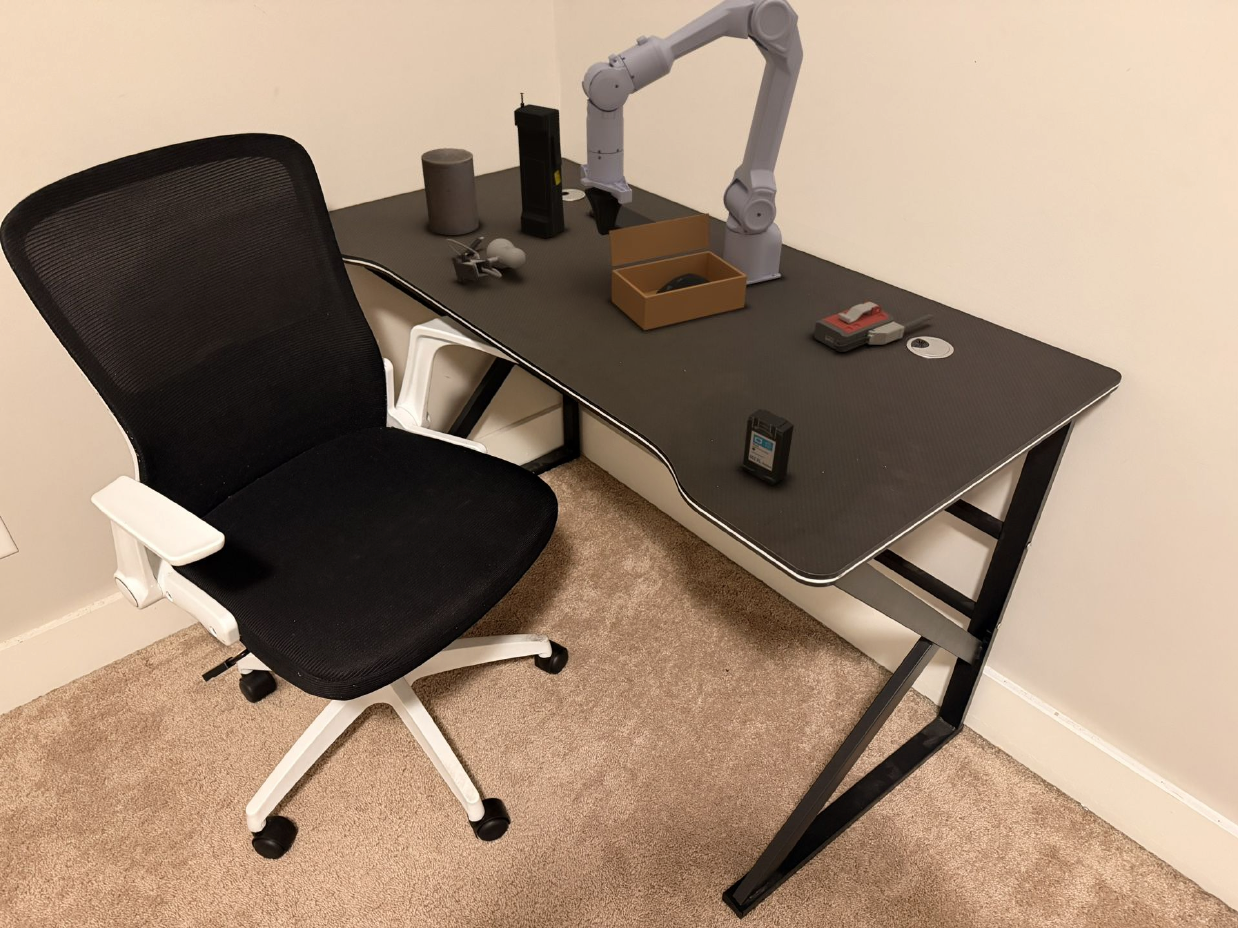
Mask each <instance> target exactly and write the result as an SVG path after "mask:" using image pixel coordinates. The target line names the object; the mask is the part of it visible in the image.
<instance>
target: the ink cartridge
mask: <svg viewBox="0 0 1238 928" xmlns="http://www.w3.org/2000/svg"><path fill="white" fill-rule="evenodd" d="M794 426H795V424H793V423H791V422H789V420H788V419H786V418H784V417H782V416H781V417H780V416H779V415H776V414H774V413H772V412H771V411H769V410H766V409H761V408H759V409H757V410H756V411H754V412H753V413H751V414H750V415H748V419H747V421H746V429H745V438H744V439H745V440H744V449H743V457H742V458H743V459H742V463H741V467H742V469H743V470H744V471H746V472H747V473H750V474H751V475H753V476H755V477H757V478H758V479H760V480H762V481H764V482H766V483H768V484H770V485H771V486H772V485H773V486H774V485H776V484H778V483H779V482H780V481H781V480H782V479H784V478H785V477H787V471H788V465H789V458H790V452H791V445H792V439H793V433H794Z"/></svg>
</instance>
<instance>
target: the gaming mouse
mask: <svg viewBox="0 0 1238 928" xmlns="http://www.w3.org/2000/svg"><path fill="white" fill-rule="evenodd" d="M705 283H710V281H709V280H707V279H705V278H703V277H701V276H699V275H696V274H691V273H689V274H684V275H681V276H679V277H676V278H674V279H673V280H671V281H670V282H668V283H667V284H665V285H664V286H663V287H662V288H661V289H660V290H658V291H657V293H656V294H659V293H664V292H668V291H673V290H678V289H682V288H687V287H692V286H696V285H701V284H705Z"/></svg>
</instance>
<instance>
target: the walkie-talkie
mask: <svg viewBox="0 0 1238 928" xmlns="http://www.w3.org/2000/svg"><path fill="white" fill-rule="evenodd" d="M882 309H883V308H882V306H881V305H878V304H876V303H874V302H872V301H870V300H868V301H865V302H862V303H858V304H856V305H854V306H852V307H851V308H848V309H845V310H842V311H840V312H838V313H833V314H832V315H828V316H826V317H823V318H820V319H818V320H816V321H815V327H814V333H813V338H814V339H815V340H817V341H819V342H820V343H822V344H824V345H826V346H828V347H829V348H832V349H833V350H835V351H837V352H843V353H845V352H848V351H850V350H853V349H855V348H858V347H860V346H862V345H865V344H868V345H886V344H888V343H891V342H893V341H896V340H901V339H902V338H903V336H904V334H905V332H906V331H907V330H910V329H912V328H913V329H914V328H915V327H917V326H920V325H922V324H923V323H926V322H927V321H930V320H933V318H934V316H933V315H932V314H931V313H928V314H926V315H924V316H921V317H918V318H916V319H913V320H911V321H908V322H905V323H900V324H899V323H897V322H896V321H894V320H895V317H894V316H893V315H892V314H890V313H889V312H886V311H884V310H882Z"/></svg>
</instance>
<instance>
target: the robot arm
mask: <svg viewBox="0 0 1238 928" xmlns="http://www.w3.org/2000/svg"><path fill="white" fill-rule="evenodd" d="M798 22H799V15H798V13H797V12H796V11H795V10H794V8H793V7H792V5H791V4H790V3H789V2H788V0H722V2H720V3H718V4H716V6H714V7H712V8H711V9H709V10H707V11H706V12H704V13H703V14H701V15H700V16H698V17H696V18H695V19H693V20H692V21H690V22H688V23H687V24H686V25H684V26H682V27H681V28H678V29H677V30H676V31H674V32H672V33H671V34H670V35H668V36H666V37H665V38H662V37H659V36H656V35H653V34H652V35H650V36H648V37H647V36H645V35H644V34H643V35H640V36H639V37H637V38H636V44H634V45H632V46H631V47H628V48H627V49H625V50H623V51H622V52H620V53H618V54H615V53H612V54H610V55H608V57H607V59H608V61H604V62H603V61H598V62H595V63H593V64H592V65H590V66H589V67H588V68H587V71H586V72H584V76H583V80H582V81H581V87H582V92H583V93H584V95H585V96H586V97H587V99H586V118H585V119H586V122H585V123H586V124H585V125H586V128H585V129H586V164H580V177H581V178H580V184H581V185H583V186H584V187H590V188H585V189H584V195H585V196H586V199H587V200H588V203H589V204H590V207H591V209H592V210H593V213H594V216H593V217H594V221H595V225H596V229H597V232H598V234H599V235H600V236H609V231H612V230H615V223H616V219H617V216H618V213H619V210H620V208H621V206H623V205H624V204H628V203H632V202H633V189H632V188H631V187H630V186H629V184H628V182H627V179H626V177H625V172H624V171H625V169H624V165H625V164H624V163H625V161H624V160H625V159H624V158H625V156H624V155H625V148H624V147H625V137H624V136H625V118H624V105H625V104H626V103H627V101H628V99H629V96H630V95H633V94H635V93H637V92H638V91H640V90H642V89H644V88H646V87H647V86H649V85H651V84H653V83H655V82H656V81H658V80H660V79H661V78H664V77H665V76H667V75H669V74H670V73H671V71H672V68H673V65H674V62H676V60H678V59H680V58H682V57H685V56H686V55H688V54H690V53H692V52H695V51H696V50H699V49H700V48H702V47H704V46H706V45H709V44H711V43H713V42H715V41H716V40H718V39H720V38H723V37H726V38H727V37H728V38H736V39H742V40H748V39H750V40H751V41H752V42H753V43H754V44H755V46H756V48H757V49H758V51H759V53H760V54H761V56H762V57H763V58H764V60H765V65H764V69H763V73H762V78H761V80H760V81H761V82H760V87H759V91H758V94H757V99H756V104H755V106H754V107H755V108H754V112H753V116H752V120H751V125H750V128H749V133H748V137H747V140H746V146H745V150H744V155H743V158H742V161H741V162H742V163H741V164H740V165H739V166H738V167H736V169H735V170H734V173H733V176H732V180H731V182H730V183H729V184H728V185H727V187H726V188H725V190H724V193H723V196H722V197H723V198H722V200H723V201H722V202H723V205H724V206H723V207H724V209H726V210H727V212H728V216H727V218H726V221H725V229H724V231H725V232H724V241H723V256H722V259H723V260H724V261H726V262H727V263H729V264H730V265H732V266H733V267H735V268H736V269H738V270H739V271H741V272H742V273H744V274H745V275H747V284H746V286H747V285H753V284H757V283H761V282H766V281H769V280H770V281H771V280H775V279H780V278H781V276H782V275H781V273H779V269H780V261H781V255H782V246H783V236H782V231H781V229H780V227H779V225H777V223H776V222H775V219H776V217H777V206H776V196H777V195H776V194H777V191H778V189H777V183H776V178H775V168H776V165H777V161H778V157H779V154H780V149H781V146H782V145H781V144H782V142H783V138H784V134H785V129H786V126H787V122H788V119H789V115H790V110H791V108H792V107H791V106H792V102H793V99H794V95H795V91H796V87H797V82H798V80H799V79H798V78H799V74H800V71H801V67H802V63H803V60H804V50H803V45H802V41H801V36H800V31H799V27H798Z"/></svg>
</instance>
